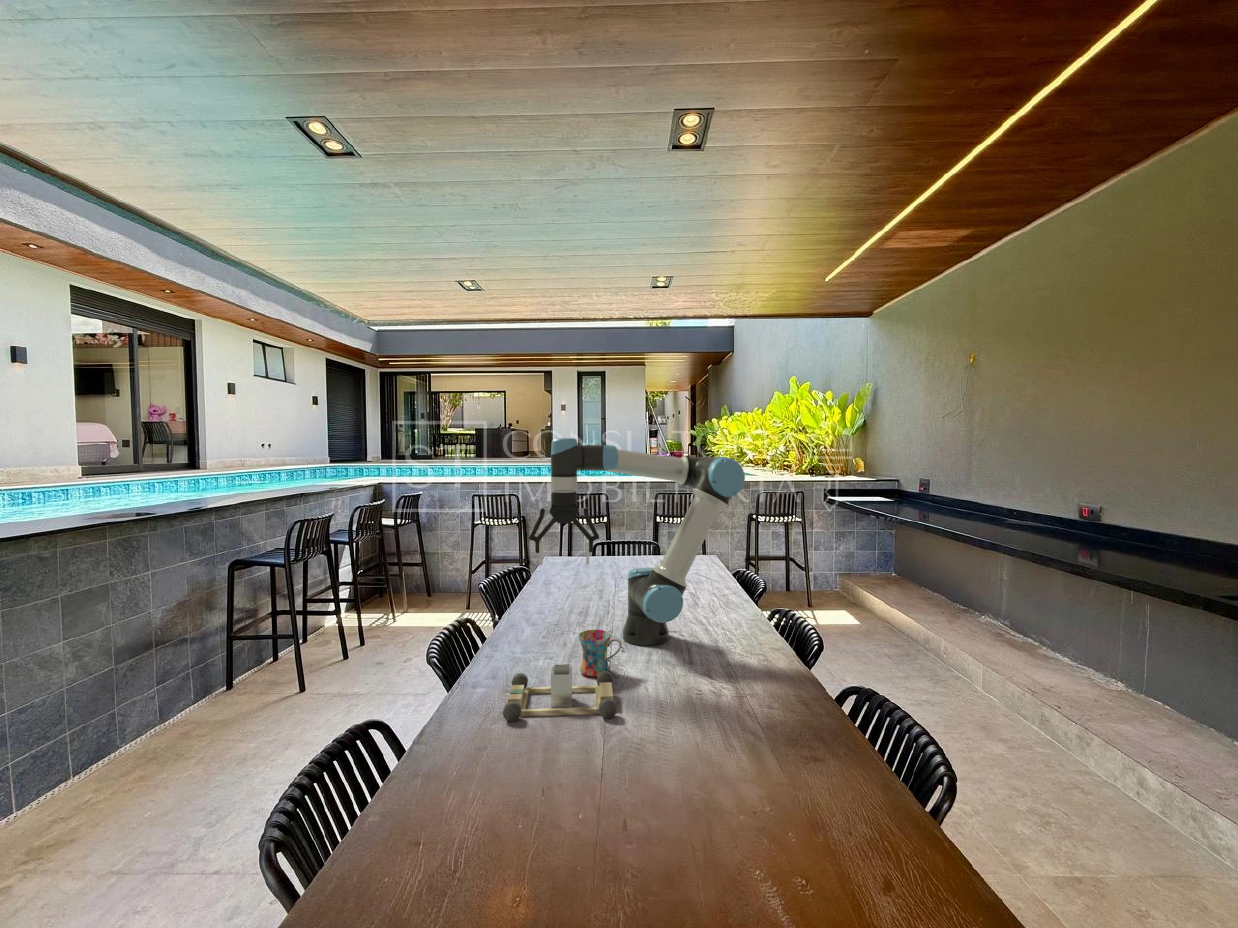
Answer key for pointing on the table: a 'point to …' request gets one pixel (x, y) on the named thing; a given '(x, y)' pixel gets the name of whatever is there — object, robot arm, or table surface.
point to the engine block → (561, 686)
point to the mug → (595, 651)
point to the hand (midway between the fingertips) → (564, 563)
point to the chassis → (520, 697)
